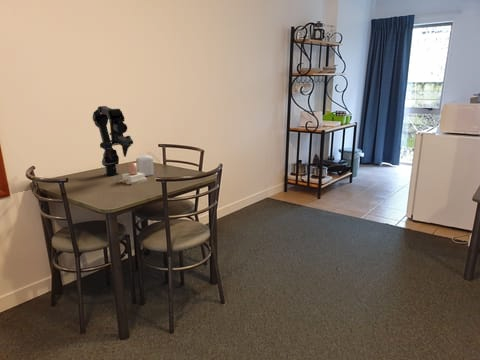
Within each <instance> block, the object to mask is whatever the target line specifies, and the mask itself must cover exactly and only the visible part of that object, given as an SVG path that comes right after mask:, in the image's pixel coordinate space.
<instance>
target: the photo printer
mask: <svg viewBox="0 0 480 360" xmlns="http://www.w3.org/2000/svg"><path fill="white" fill-rule="evenodd" d="M135 160H136V161H135V163H137V171H138V172H139V173H143V174H145V177H146V176H147V177H148V176H154V175H155V174H154V173H155V172H154V171H155V170H154V169H155V168H154V157H153V156H152V155H140V156H138V157H136V159H135Z"/></svg>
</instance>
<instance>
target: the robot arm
mask: <svg viewBox="0 0 480 360" xmlns="http://www.w3.org/2000/svg"><path fill="white" fill-rule="evenodd" d="M92 122H94V125H95V127H97V128H98V131H99V133H100V138H101V142H100V144H99V146H100V147H99V148H100V149H102V150H104V152H103V155H102V156H103V157H102V159H101V160H102V161H101V165H102V166H103V167H105V173H104V174H103V175H105V176H108V177H112V176H117V175H120V174H119V172H117V165H119V162H120V157H119V155H118V152H117V149H114V148H113V146H119V145H120V146H121V149H122V154H123V157H127V153H128V151H129V149H130V147H132V145H134V141H133V139H132V136H130V135H126V136H124V134H125V133H126V132H127V131H128V125H127V124H126V123H125V116H124V114H123V112H122V110H121V108H111V107H108V106H106V105H101V106H98V107H97V109H95V111H93V114H92ZM108 123H109V128H110V132H109V130H108V127H107V126H108Z"/></svg>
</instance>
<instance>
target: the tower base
mask: <svg viewBox="0 0 480 360" xmlns="http://www.w3.org/2000/svg"><path fill="white" fill-rule="evenodd" d="M144 181H145V182H148V181H149V180H148V177H145V178H143V179H139V180H135V181H129V180H125V179H122V178H120V179H119V182H120V183H121V182H122V183H123V184H125V183H126V185H129V184H131V185H130V186H134V184H135V185H137V183H138V184H141V183H140V182H142V183H145V182H144ZM122 183H121V184H122Z"/></svg>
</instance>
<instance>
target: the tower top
mask: <svg viewBox="0 0 480 360" xmlns="http://www.w3.org/2000/svg"><path fill="white" fill-rule="evenodd" d="M121 177H122V178H121V179H125V180H129V181H135V180H139V179H143V178H146V176H145V174H143V173H139V172H138V173H137V174H129V172H128V173H124V174H123V173H122V174H121Z"/></svg>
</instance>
